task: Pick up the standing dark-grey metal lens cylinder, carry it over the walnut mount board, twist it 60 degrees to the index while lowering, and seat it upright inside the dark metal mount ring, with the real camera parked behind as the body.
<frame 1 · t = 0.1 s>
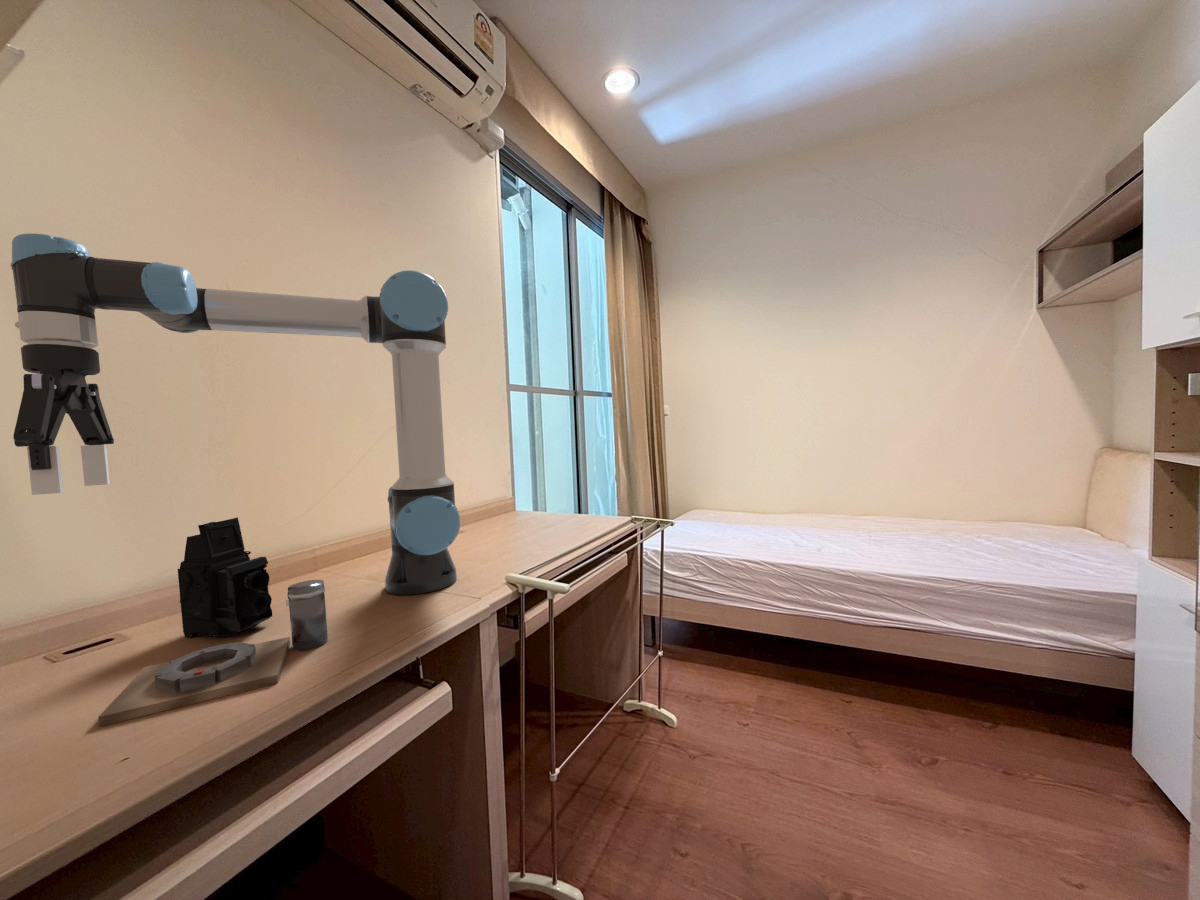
hand: (74, 489, 69), 28 cm above the table, fingers open, 13 cm apart
mount board: (209, 678, 67), on the table
lens: (310, 644, 77), on the table
camera: (233, 631, 84), on the table
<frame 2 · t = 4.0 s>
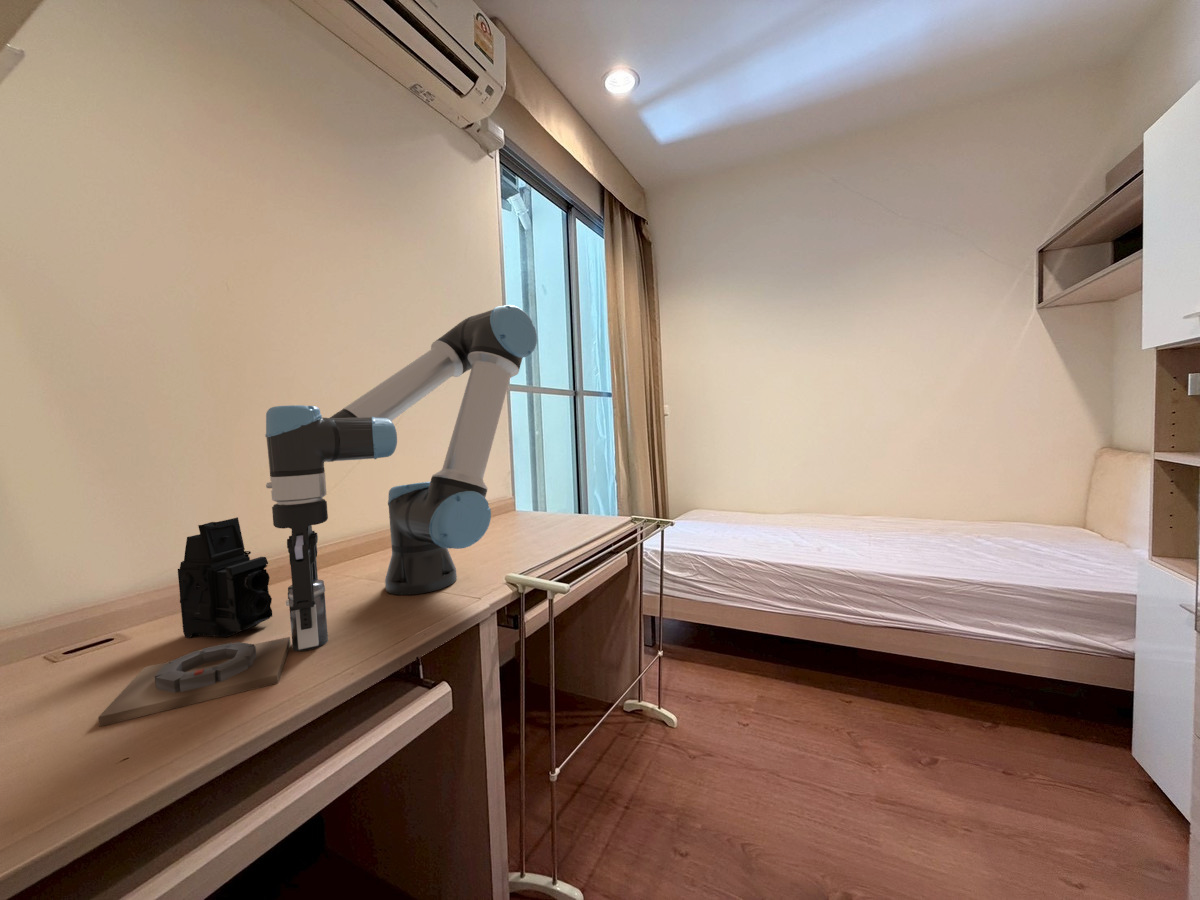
hand: (310, 639, 77), 1 cm above the table, fingers closed on lens, 5 cm apart
lens: (310, 643, 77), on the table, touching gripper
everything else where it was.
when the fingers open (4 cm above the table, at t = 8.3 s): lens drops 2 cm, resting on mount board.
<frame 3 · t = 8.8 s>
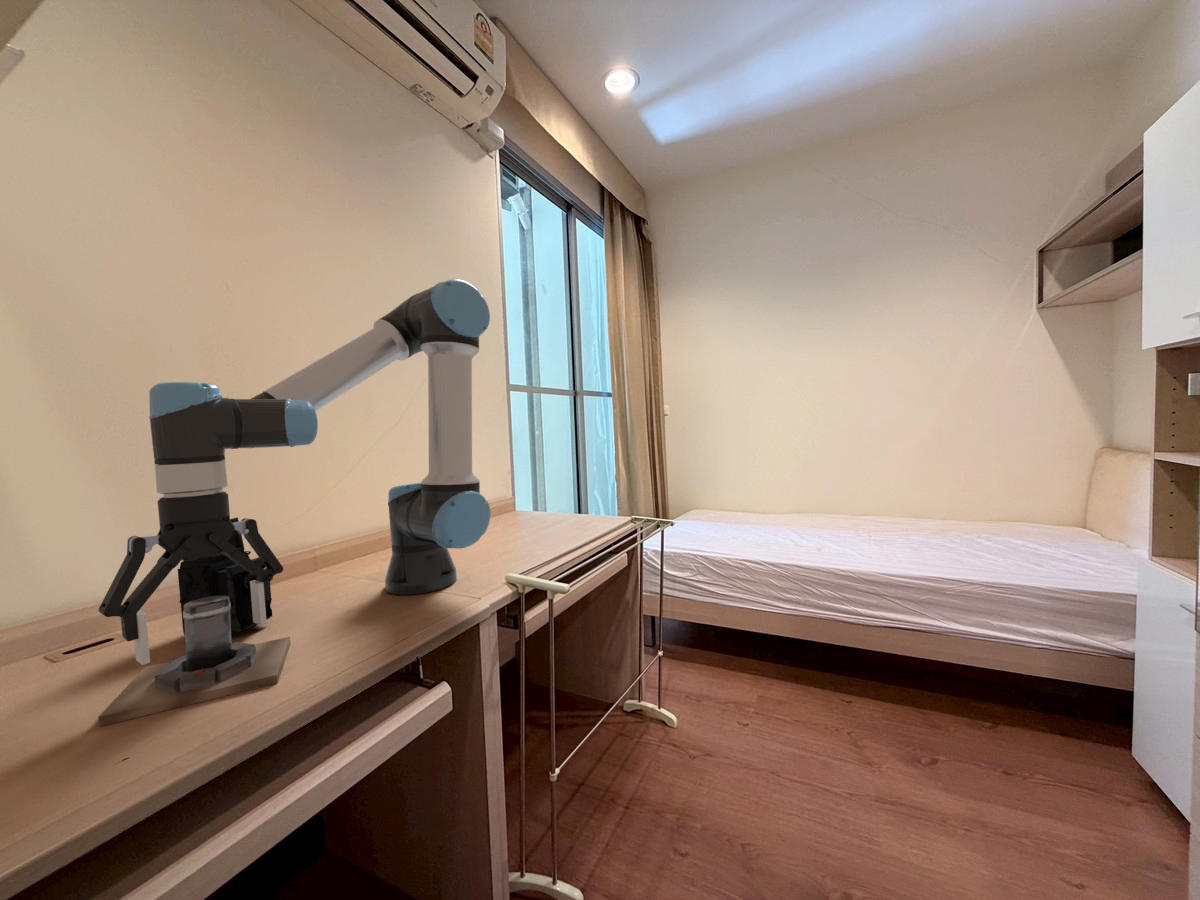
hand: (206, 640, 66), 6 cm above the table, fingers open, 13 cm apart
lens: (210, 669, 67), point 1 cm above the table, touching mount board
everything else where it was.
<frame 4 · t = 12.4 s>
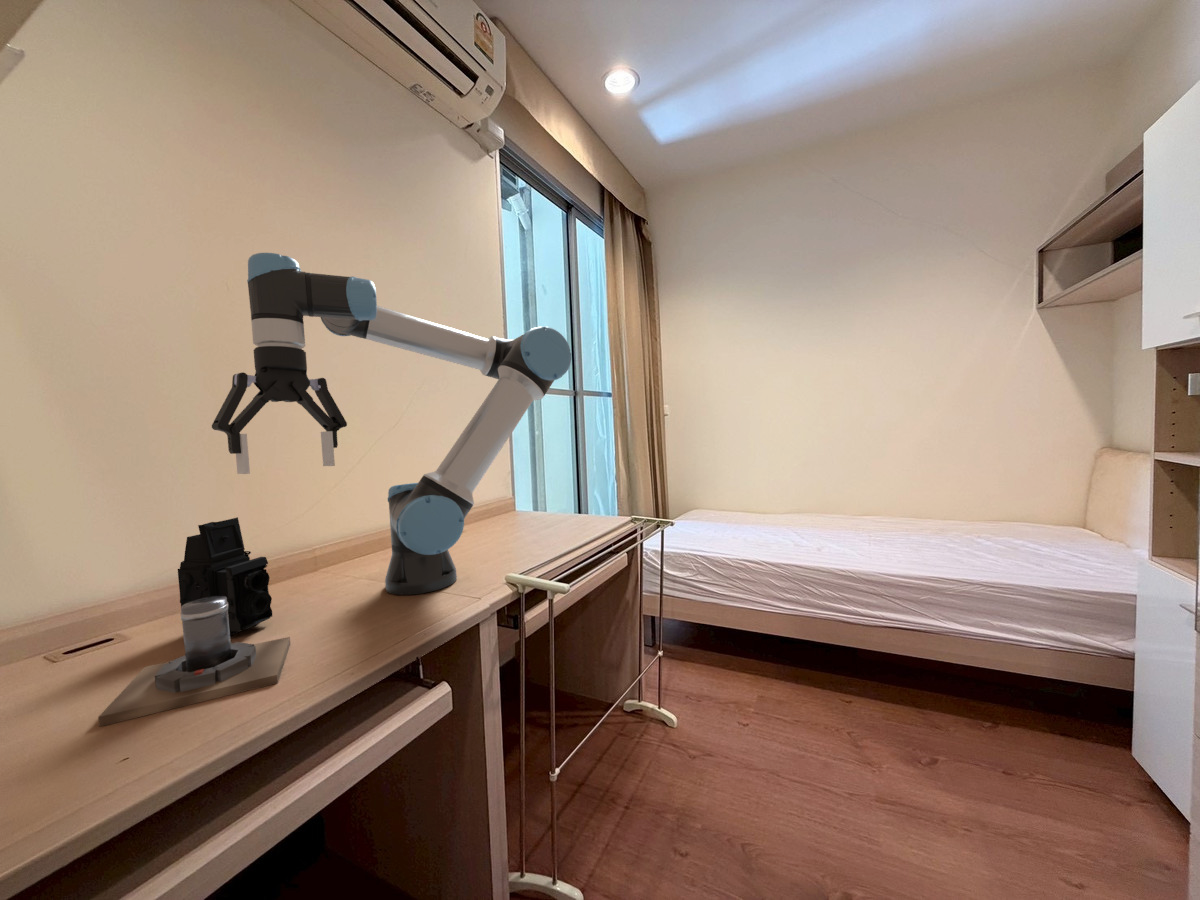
hand: (289, 469, 81), 29 cm above the table, fingers open, 13 cm apart
nothing on the table moved.
at the end: lens 0.2 cm off-centre on the mount board, point 1.2 cm above the mount board's base; lens tilted 0°; the gripper is holding nothing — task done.
